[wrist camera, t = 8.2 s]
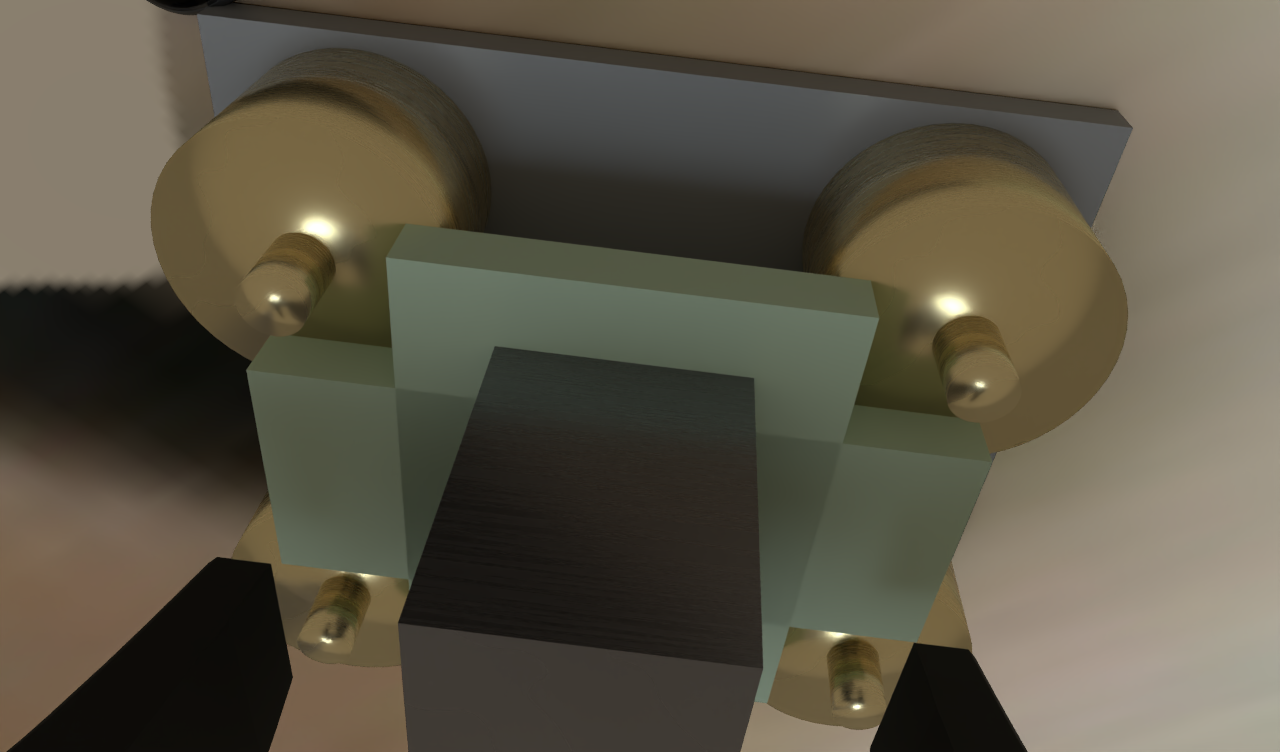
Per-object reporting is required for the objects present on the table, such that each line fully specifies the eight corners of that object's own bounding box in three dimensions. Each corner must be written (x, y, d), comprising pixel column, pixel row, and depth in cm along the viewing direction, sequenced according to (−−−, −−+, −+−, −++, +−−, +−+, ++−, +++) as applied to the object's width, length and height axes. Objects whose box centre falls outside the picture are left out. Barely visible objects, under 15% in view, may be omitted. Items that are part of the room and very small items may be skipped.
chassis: (302, 531, 19) (212, 709, 16) (216, 1, 13) (44, 111, 10) (916, 607, 19) (954, 802, 15) (1117, 110, 13) (1247, 260, 10)
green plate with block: (315, 602, 15) (174, 919, 11) (251, 204, 11) (-4, 488, 7) (878, 673, 15) (927, 1014, 11) (1026, 299, 11) (1182, 635, 7)
